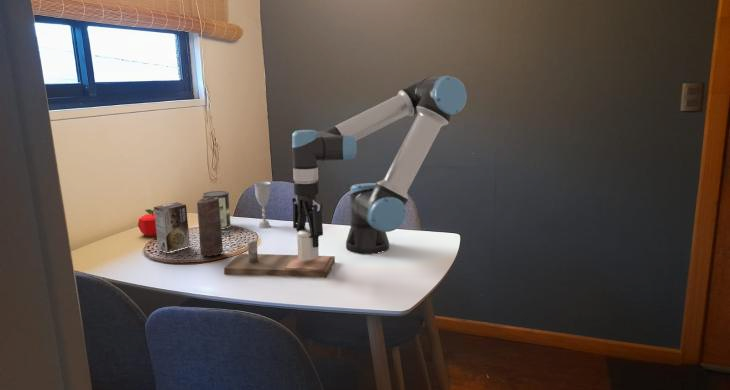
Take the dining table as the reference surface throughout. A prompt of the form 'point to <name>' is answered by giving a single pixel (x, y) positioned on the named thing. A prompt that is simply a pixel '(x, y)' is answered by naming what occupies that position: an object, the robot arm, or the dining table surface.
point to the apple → (148, 224)
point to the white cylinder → (304, 244)
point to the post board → (278, 264)
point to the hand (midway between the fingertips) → (308, 253)
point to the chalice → (263, 200)
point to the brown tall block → (209, 226)
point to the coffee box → (172, 226)
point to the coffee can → (221, 206)
